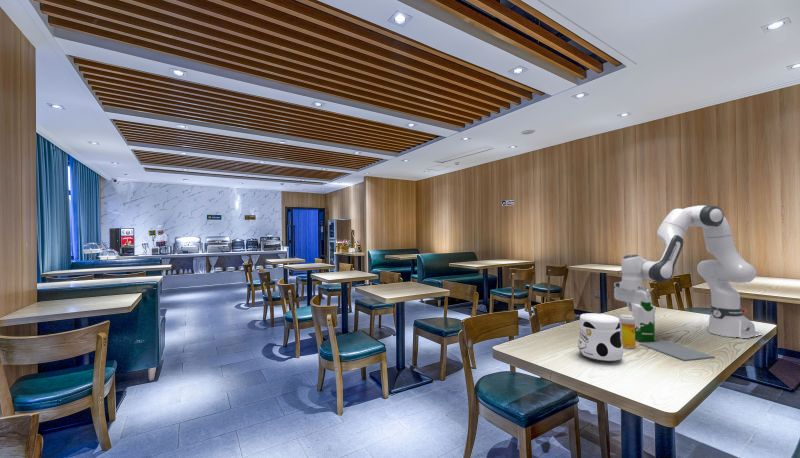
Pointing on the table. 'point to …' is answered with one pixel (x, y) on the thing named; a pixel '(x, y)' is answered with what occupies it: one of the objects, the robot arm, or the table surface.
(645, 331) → the white carton
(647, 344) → the mat
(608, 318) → the milk container
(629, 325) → the beer can
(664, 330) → the table surface
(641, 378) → the table surface
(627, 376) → the table surface
